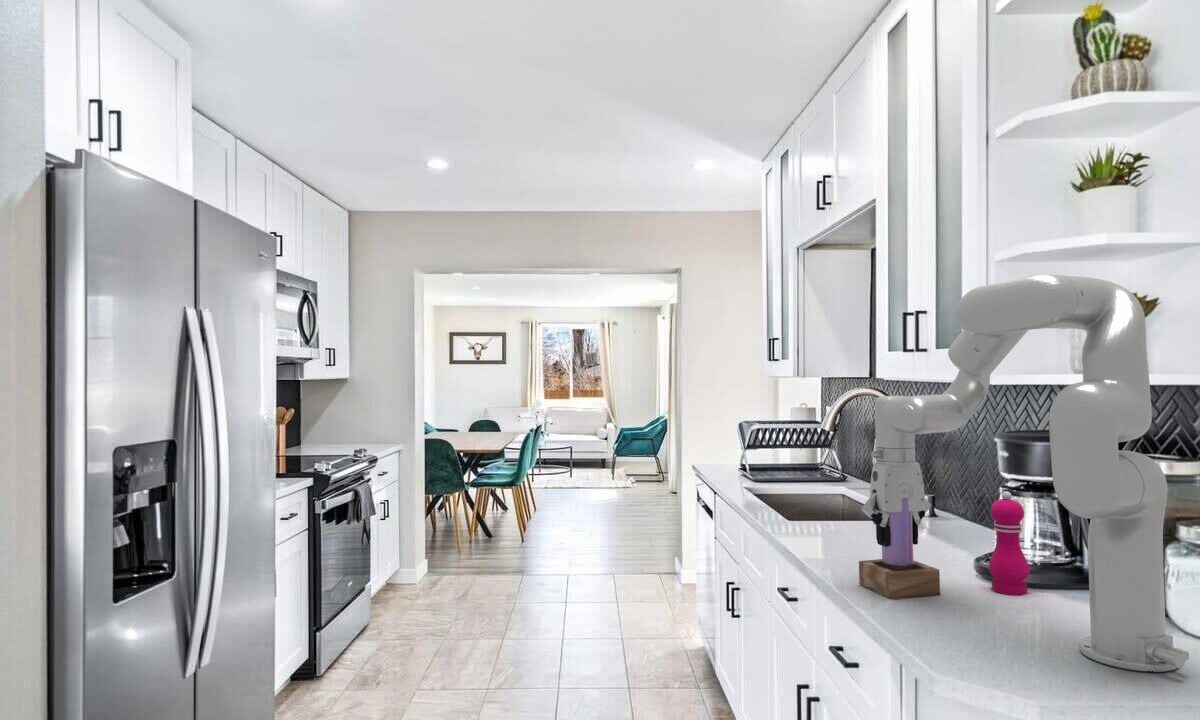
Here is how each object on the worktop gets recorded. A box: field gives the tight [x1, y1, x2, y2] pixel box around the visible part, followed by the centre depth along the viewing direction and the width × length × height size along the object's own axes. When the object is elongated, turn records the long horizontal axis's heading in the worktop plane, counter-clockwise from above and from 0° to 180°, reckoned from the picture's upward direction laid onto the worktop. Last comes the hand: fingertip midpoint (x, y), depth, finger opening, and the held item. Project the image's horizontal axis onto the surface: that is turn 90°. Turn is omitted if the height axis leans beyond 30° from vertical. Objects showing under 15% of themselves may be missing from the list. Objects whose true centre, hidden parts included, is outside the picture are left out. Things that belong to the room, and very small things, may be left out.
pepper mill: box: [988, 491, 1030, 596], centre depth 153 cm, size 7×7×20 cm
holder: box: [858, 558, 941, 600], centre depth 155 cm, size 11×11×5 cm
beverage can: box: [881, 497, 914, 569], centre depth 155 cm, size 6×6×15 cm
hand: (897, 543), depth 155 cm, fingers closed on beverage can, 5 cm apart
